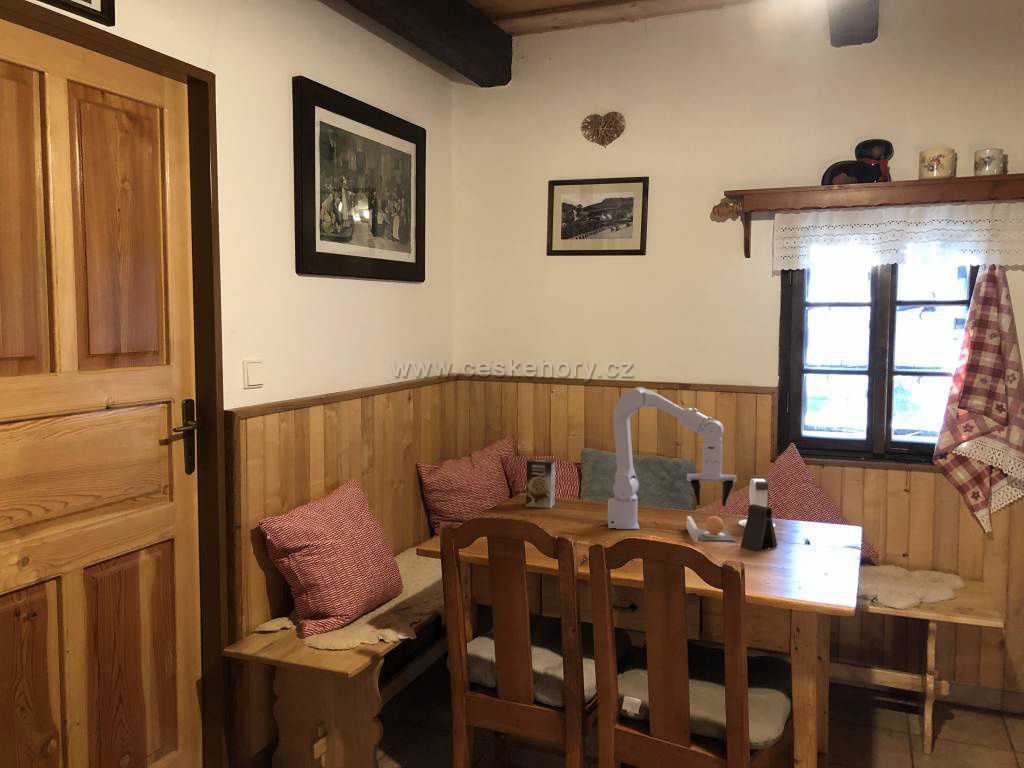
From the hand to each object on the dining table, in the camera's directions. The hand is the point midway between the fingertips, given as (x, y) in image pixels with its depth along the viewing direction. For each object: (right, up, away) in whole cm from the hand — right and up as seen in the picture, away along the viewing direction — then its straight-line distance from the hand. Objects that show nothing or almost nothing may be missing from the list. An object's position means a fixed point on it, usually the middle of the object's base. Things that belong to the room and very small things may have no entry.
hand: (710, 504), depth 253 cm
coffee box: (-50, -6, +39) cm, 64 cm away
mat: (+1, -9, 0) cm, 9 cm away
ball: (+1, -6, -1) cm, 6 cm away
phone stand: (+11, -11, -12) cm, 20 cm away
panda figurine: (+18, -9, +13) cm, 24 cm away
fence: (-6, -9, 0) cm, 11 cm away
